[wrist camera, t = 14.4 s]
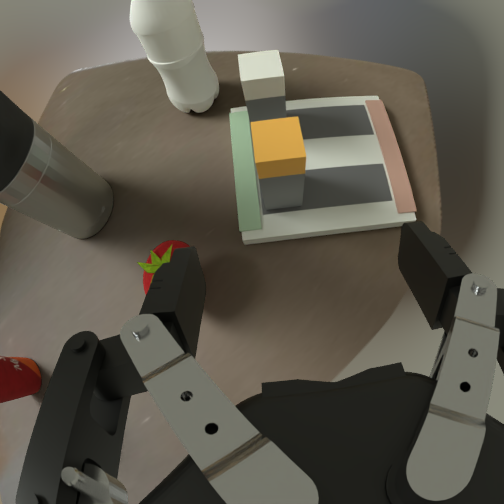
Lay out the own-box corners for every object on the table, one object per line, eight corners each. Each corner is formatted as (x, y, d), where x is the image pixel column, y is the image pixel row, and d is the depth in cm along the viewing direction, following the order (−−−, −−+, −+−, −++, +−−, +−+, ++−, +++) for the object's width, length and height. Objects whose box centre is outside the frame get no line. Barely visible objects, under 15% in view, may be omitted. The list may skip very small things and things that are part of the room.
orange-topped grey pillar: (265, 210, 35) (255, 162, 24) (261, 177, 36) (250, 122, 25) (302, 205, 35) (306, 156, 24) (296, 173, 35) (298, 116, 25)
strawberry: (161, 313, 36) (120, 308, 26) (168, 250, 38) (131, 226, 28) (210, 318, 35) (181, 317, 26) (216, 253, 37) (190, 228, 27)
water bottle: (232, 95, 42) (189, -57, 17) (196, 127, 41) (123, -22, 17) (200, 76, 43) (148, -58, 19) (165, 105, 43) (91, -25, 18)
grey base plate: (243, 245, 37) (218, 203, 24) (231, 117, 41) (210, 47, 28) (411, 225, 35) (462, 179, 22) (376, 104, 39) (397, 36, 26)
